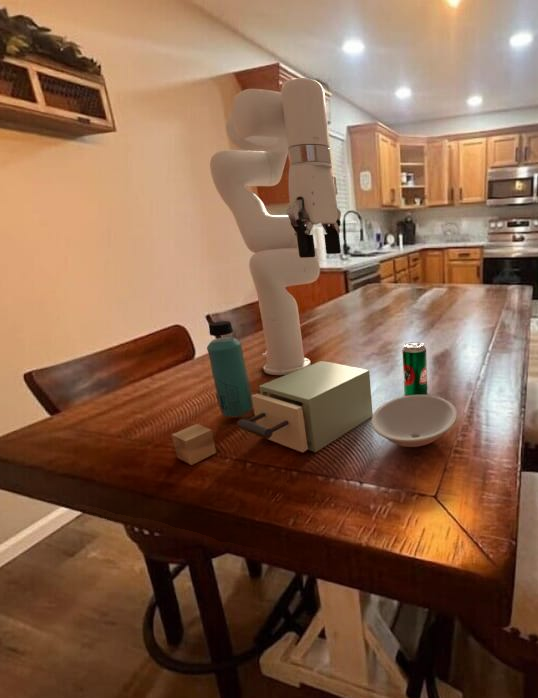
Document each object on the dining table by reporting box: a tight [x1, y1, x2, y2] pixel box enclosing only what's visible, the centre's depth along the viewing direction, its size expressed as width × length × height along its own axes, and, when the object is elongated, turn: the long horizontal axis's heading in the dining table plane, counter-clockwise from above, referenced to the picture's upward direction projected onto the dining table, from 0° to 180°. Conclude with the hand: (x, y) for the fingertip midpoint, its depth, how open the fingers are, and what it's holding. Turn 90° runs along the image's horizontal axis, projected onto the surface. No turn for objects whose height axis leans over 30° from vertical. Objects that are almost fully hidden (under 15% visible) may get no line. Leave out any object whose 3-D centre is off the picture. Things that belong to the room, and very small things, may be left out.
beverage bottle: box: [206, 320, 254, 418], centre depth 80 cm, size 6×7×20 cm
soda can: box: [401, 341, 428, 396], centre depth 87 cm, size 5×5×12 cm
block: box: [171, 423, 217, 466], centre depth 69 cm, size 4×4×4 cm
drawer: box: [236, 393, 311, 453], centre depth 73 cm, size 20×12×8 cm, turn 146°
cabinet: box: [258, 360, 374, 453], centre depth 77 cm, size 16×13×10 cm
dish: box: [371, 394, 458, 448], centre depth 70 cm, size 18×14×5 cm
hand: (321, 255), depth 80 cm, fingers open, 9 cm apart
